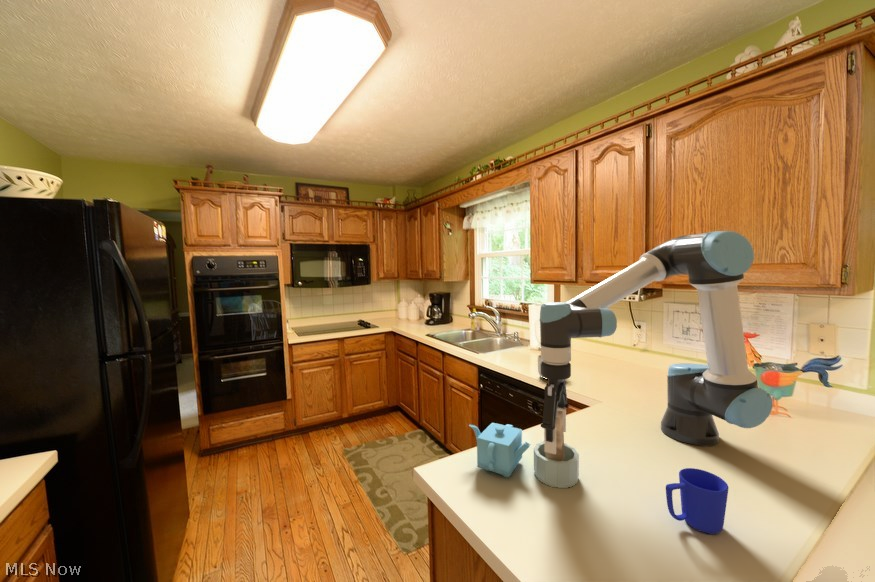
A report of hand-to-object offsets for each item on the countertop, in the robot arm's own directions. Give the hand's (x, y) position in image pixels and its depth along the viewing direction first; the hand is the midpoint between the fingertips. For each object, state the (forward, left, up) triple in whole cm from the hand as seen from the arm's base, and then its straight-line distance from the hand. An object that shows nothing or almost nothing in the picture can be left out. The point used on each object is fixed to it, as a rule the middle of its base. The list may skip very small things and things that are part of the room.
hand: (555, 441), depth 89 cm
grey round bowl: (0, 0, -9) cm, 9 cm away
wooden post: (0, 0, -8) cm, 8 cm away
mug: (-29, +4, -10) cm, 31 cm away
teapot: (+15, +3, -10) cm, 18 cm away
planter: (+19, -81, -10) cm, 84 cm away
